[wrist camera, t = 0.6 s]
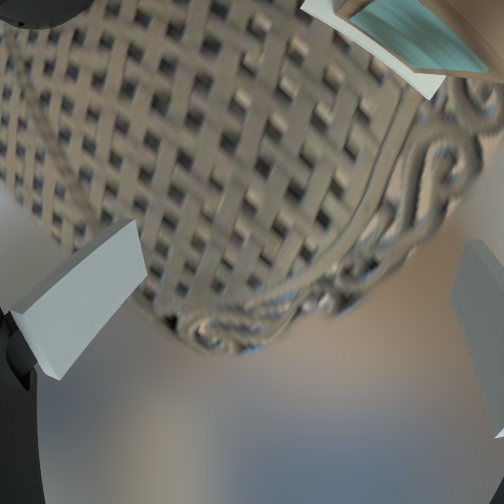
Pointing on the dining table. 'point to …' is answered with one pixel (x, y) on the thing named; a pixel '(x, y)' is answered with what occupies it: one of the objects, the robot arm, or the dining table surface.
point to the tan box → (435, 34)
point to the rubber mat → (372, 46)
